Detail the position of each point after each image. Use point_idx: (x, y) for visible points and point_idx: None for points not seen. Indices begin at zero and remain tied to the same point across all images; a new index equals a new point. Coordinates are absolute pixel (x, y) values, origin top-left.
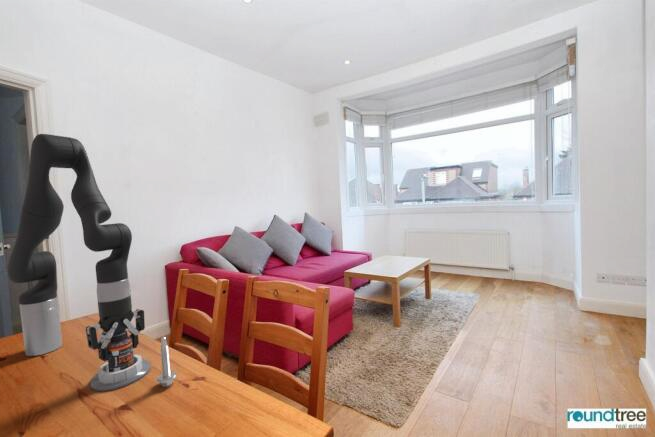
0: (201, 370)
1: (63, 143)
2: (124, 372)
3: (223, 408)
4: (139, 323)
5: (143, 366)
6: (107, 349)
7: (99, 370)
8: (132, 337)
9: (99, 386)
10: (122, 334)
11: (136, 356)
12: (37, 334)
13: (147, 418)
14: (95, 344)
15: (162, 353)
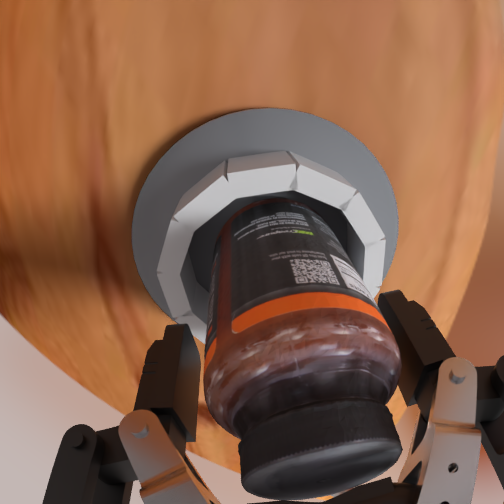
0: (401, 398)
1: None
2: None
3: None
4: (493, 452)
5: None
6: (196, 426)
7: (165, 260)
8: (407, 383)
9: (160, 293)
10: (320, 495)
11: (369, 266)
12: None
13: (227, 450)
14: (115, 491)
15: (332, 495)
